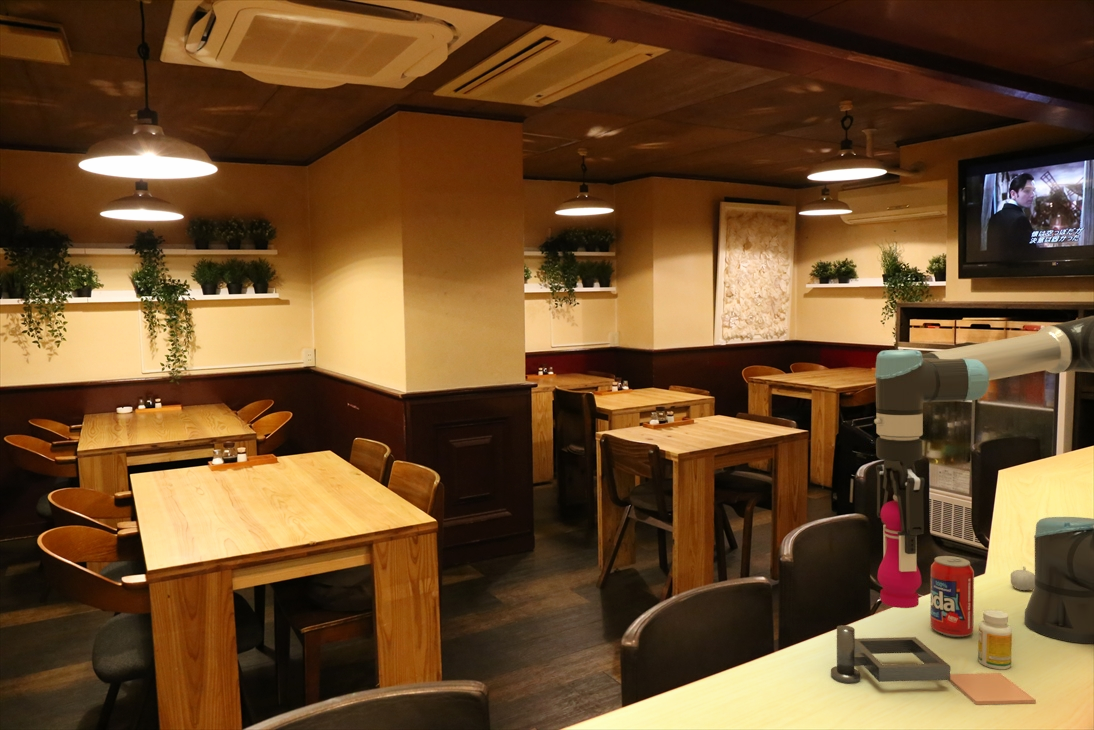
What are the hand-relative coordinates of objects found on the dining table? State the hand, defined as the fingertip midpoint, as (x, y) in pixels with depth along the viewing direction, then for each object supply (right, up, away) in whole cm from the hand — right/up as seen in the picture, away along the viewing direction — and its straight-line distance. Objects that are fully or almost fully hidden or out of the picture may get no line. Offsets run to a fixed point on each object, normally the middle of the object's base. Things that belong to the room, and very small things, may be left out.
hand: (899, 564), depth 139 cm
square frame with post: (-3, -20, +1) cm, 21 cm away
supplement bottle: (+20, -20, +5) cm, 29 cm away
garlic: (+50, -17, +45) cm, 69 cm away
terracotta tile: (+13, -20, -5) cm, 25 cm away
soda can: (+20, -19, +20) cm, 34 cm away
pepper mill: (0, -7, +1) cm, 7 cm away
